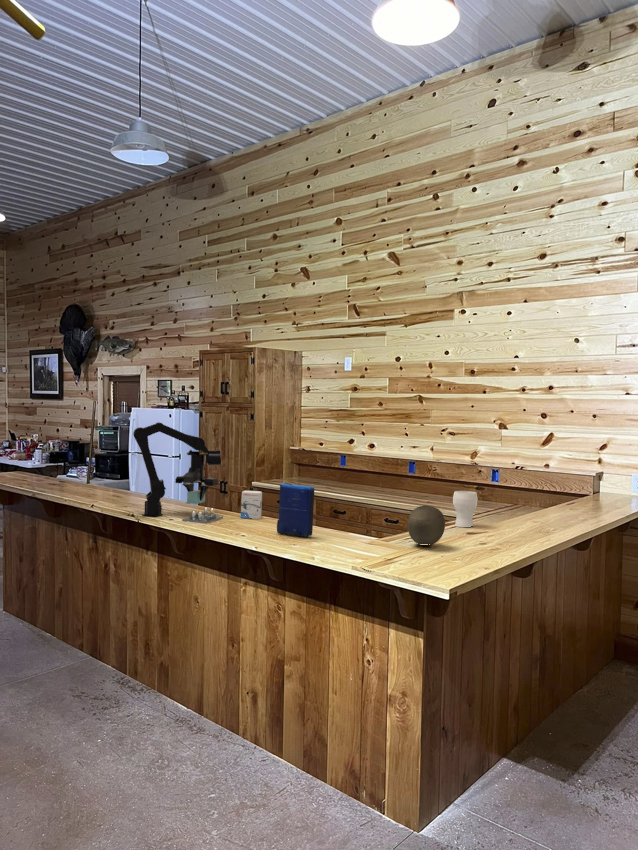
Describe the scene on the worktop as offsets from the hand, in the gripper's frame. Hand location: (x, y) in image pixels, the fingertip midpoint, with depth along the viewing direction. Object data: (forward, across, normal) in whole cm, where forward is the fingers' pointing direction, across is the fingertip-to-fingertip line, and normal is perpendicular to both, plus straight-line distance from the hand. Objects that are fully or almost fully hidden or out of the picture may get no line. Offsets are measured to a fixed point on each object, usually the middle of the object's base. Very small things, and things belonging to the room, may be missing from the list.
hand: (196, 500), depth 287 cm
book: (+7, +56, -23) cm, 61 cm away
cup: (+7, +115, +32) cm, 119 cm away
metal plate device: (+7, +9, -10) cm, 15 cm away
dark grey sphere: (+7, +106, -19) cm, 108 cm away
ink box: (+7, +25, +5) cm, 26 cm away
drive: (+1, 0, 0) cm, 1 cm away
